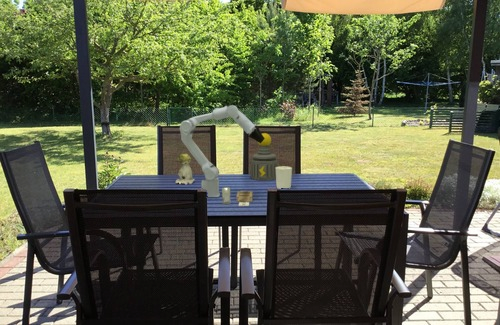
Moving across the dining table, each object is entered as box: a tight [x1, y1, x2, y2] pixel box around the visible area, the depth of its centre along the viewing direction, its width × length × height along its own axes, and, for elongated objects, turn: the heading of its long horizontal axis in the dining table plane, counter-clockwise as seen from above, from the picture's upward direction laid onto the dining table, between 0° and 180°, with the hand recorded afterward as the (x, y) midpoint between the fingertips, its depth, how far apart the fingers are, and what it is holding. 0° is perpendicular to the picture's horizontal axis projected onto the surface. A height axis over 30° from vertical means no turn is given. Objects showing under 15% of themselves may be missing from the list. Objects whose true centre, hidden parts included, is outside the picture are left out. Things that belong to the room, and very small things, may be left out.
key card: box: [238, 202, 250, 207], centre depth 208 cm, size 5×6×1 cm
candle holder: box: [275, 166, 293, 190], centre depth 245 cm, size 10×10×12 cm
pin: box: [221, 186, 231, 205], centre depth 210 cm, size 4×4×8 cm
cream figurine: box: [175, 153, 195, 185], centre depth 263 cm, size 12×13×18 cm
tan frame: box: [236, 190, 254, 203], centre depth 220 cm, size 8×14×2 cm, turn 179°
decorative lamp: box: [249, 132, 280, 182], centre depth 274 cm, size 19×19×30 cm
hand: (262, 141), depth 220 cm, fingers open, 7 cm apart
